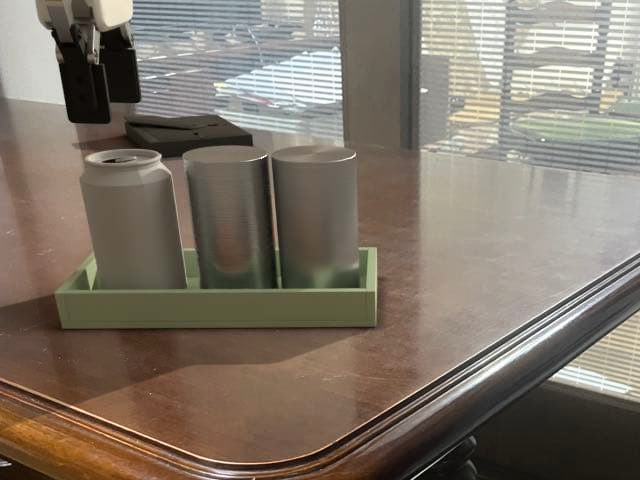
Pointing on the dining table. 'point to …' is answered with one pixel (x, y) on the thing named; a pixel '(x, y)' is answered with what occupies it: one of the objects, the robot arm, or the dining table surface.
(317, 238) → the can
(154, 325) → the tray
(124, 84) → the robot arm
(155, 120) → the picture frame
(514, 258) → the dining table surface
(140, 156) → the can
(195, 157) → the can
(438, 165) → the dining table surface
